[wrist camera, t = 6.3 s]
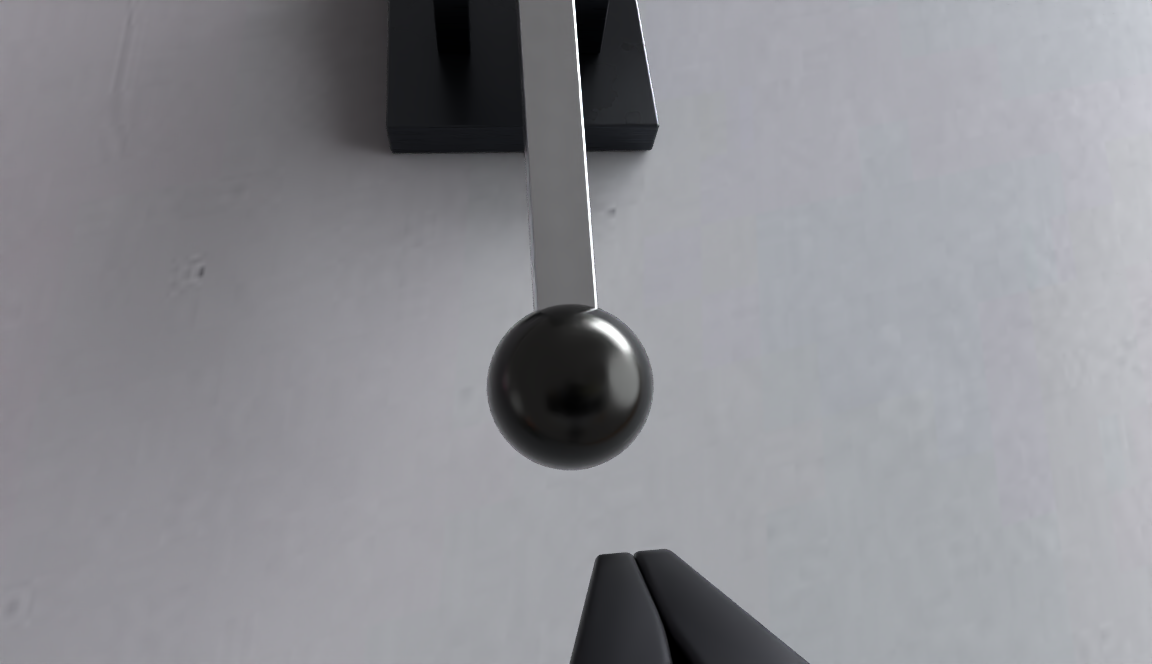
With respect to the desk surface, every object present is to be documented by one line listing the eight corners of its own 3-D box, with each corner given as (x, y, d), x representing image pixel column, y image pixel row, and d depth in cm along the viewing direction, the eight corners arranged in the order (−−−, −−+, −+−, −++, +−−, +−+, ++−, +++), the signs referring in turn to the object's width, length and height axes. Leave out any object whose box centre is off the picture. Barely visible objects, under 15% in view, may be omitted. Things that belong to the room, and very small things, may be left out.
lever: (640, 465, 14) (680, 463, 11) (490, 475, 14) (490, 476, 11) (579, -271, 18) (596, -419, 15) (455, -279, 17) (449, -432, 14)
